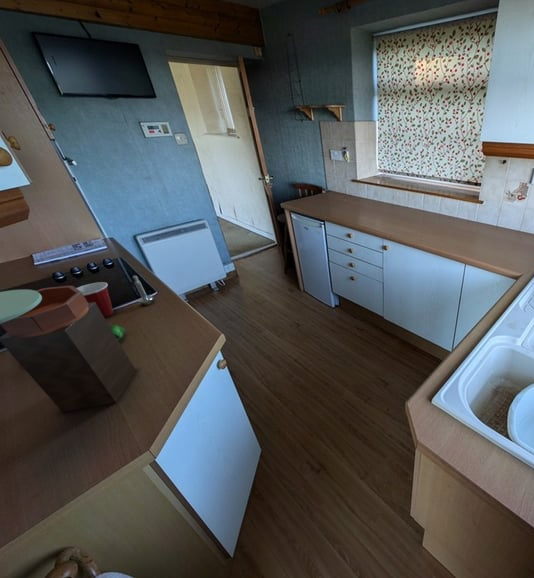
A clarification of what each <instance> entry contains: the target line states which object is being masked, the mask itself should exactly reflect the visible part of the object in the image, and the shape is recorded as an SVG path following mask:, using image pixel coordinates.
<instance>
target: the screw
mask: <svg viewBox="0 0 534 578" xmlns="http://www.w3.org/2000/svg"><path fill="white" fill-rule="evenodd" d="M132 279H133V281H134V285H135V287H136V289H137V291H138V293H139V295H140V298H139V299H138V301H137V302H138V303H139V304H143V306H149V305H151V304H152V300H153V299H154V296H152V295H147V292H146V291H145V288H144V287H143V285H142V282H141V280H139V277H138V276H137V275H133V276H132Z"/></svg>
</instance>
